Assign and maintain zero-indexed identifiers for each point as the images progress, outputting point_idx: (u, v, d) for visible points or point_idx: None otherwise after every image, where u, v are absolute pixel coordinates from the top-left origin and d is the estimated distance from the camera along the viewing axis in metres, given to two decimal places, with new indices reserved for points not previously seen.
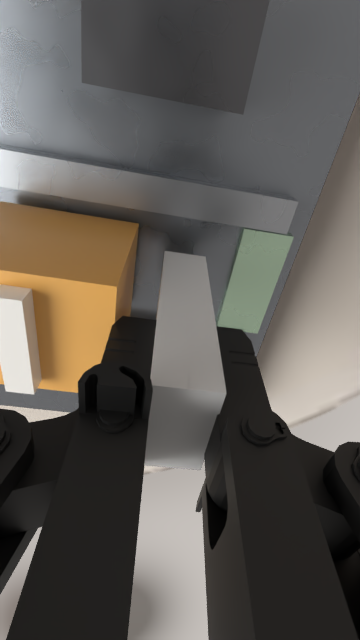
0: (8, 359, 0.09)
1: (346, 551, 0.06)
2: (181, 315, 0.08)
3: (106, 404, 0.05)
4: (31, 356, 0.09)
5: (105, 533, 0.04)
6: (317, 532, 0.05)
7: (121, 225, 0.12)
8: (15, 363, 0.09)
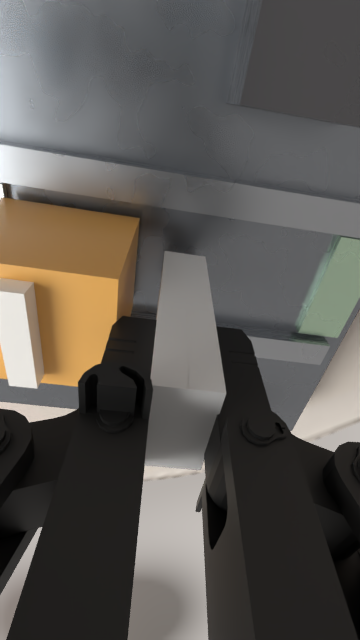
0: (11, 353, 0.09)
1: (346, 551, 0.06)
2: (181, 315, 0.08)
3: (106, 404, 0.05)
4: (34, 350, 0.09)
5: (106, 533, 0.04)
6: (316, 533, 0.05)
7: (122, 220, 0.12)
8: (18, 357, 0.09)
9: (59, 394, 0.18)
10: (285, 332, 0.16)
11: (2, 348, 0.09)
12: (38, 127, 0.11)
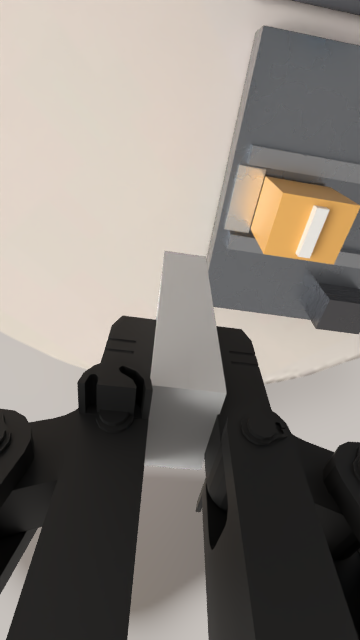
0: (308, 238, 0.20)
1: (346, 551, 0.06)
2: (181, 315, 0.08)
3: (106, 404, 0.05)
4: None
5: (105, 533, 0.04)
6: (317, 532, 0.05)
7: (325, 187, 0.23)
8: (310, 240, 0.21)
9: (242, 300, 0.30)
10: None
11: (306, 236, 0.20)
12: (292, 142, 0.23)
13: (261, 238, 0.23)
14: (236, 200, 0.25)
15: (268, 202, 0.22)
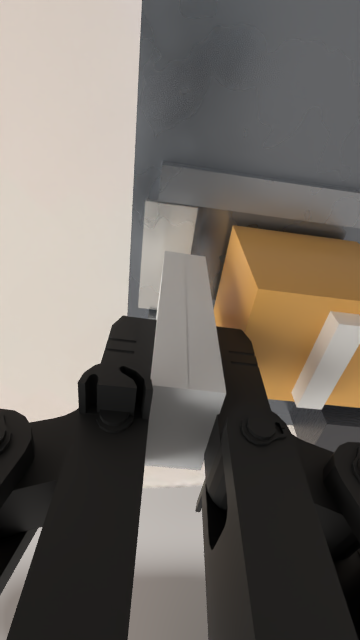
0: (319, 379, 0.09)
1: (346, 551, 0.06)
2: (181, 315, 0.08)
3: (106, 404, 0.05)
4: (337, 375, 0.09)
5: (105, 533, 0.04)
6: (316, 532, 0.05)
7: (348, 244, 0.12)
8: (323, 382, 0.09)
9: None
10: None
11: (314, 374, 0.09)
12: (244, 154, 0.11)
13: None
14: (150, 262, 0.13)
15: (234, 285, 0.11)
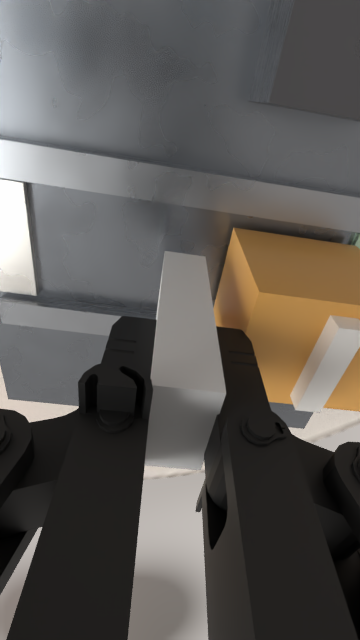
0: (318, 382, 0.09)
1: (346, 551, 0.06)
2: (181, 315, 0.08)
3: (106, 404, 0.05)
4: None
5: (105, 533, 0.04)
6: (317, 532, 0.05)
7: (347, 248, 0.12)
8: (323, 385, 0.09)
9: (73, 392, 0.18)
10: None
11: (313, 378, 0.09)
12: (60, 126, 0.11)
13: None
14: None
15: (234, 287, 0.11)
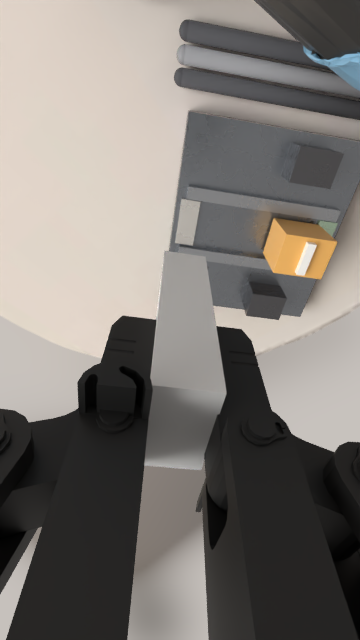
0: (303, 263, 0.31)
1: (346, 551, 0.06)
2: (181, 315, 0.08)
3: (106, 404, 0.05)
4: (309, 262, 0.31)
5: (105, 533, 0.04)
6: (316, 532, 0.05)
7: (315, 225, 0.34)
8: (304, 264, 0.31)
9: None
10: None
11: (302, 261, 0.31)
12: (217, 183, 0.33)
13: (271, 261, 0.33)
14: (181, 222, 0.35)
15: (276, 237, 0.33)
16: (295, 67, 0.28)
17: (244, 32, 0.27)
